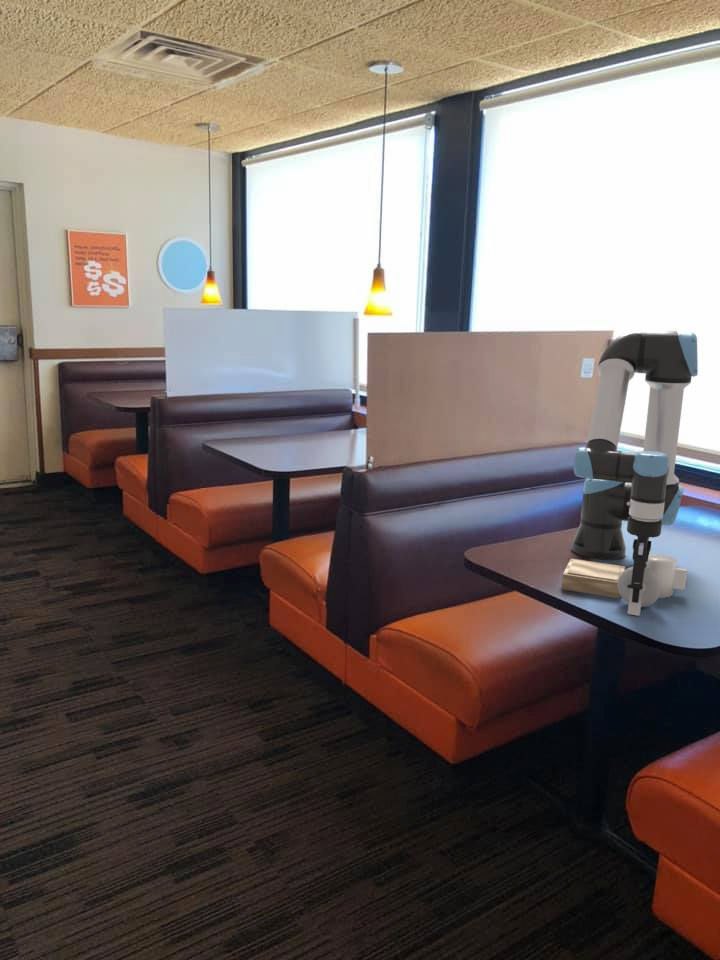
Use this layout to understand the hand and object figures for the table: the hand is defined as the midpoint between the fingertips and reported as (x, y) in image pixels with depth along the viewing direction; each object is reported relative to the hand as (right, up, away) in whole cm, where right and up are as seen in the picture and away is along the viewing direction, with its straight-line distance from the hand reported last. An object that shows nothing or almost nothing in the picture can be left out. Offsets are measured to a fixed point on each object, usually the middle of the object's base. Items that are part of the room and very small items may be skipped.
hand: (635, 606), depth 183 cm
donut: (0, 0, 0) cm, 1 cm away
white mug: (+10, +2, +10) cm, 14 cm away
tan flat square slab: (-6, +3, +14) cm, 16 cm away
